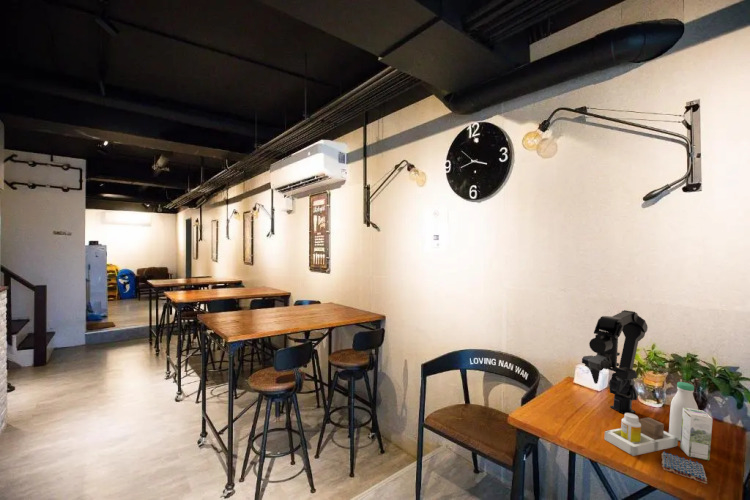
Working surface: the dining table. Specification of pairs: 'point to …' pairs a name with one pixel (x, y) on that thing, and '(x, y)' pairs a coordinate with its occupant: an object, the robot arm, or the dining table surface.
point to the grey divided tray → (645, 444)
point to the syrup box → (696, 433)
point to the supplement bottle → (631, 428)
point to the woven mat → (683, 467)
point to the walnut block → (652, 428)
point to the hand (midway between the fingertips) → (606, 388)
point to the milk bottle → (680, 407)
